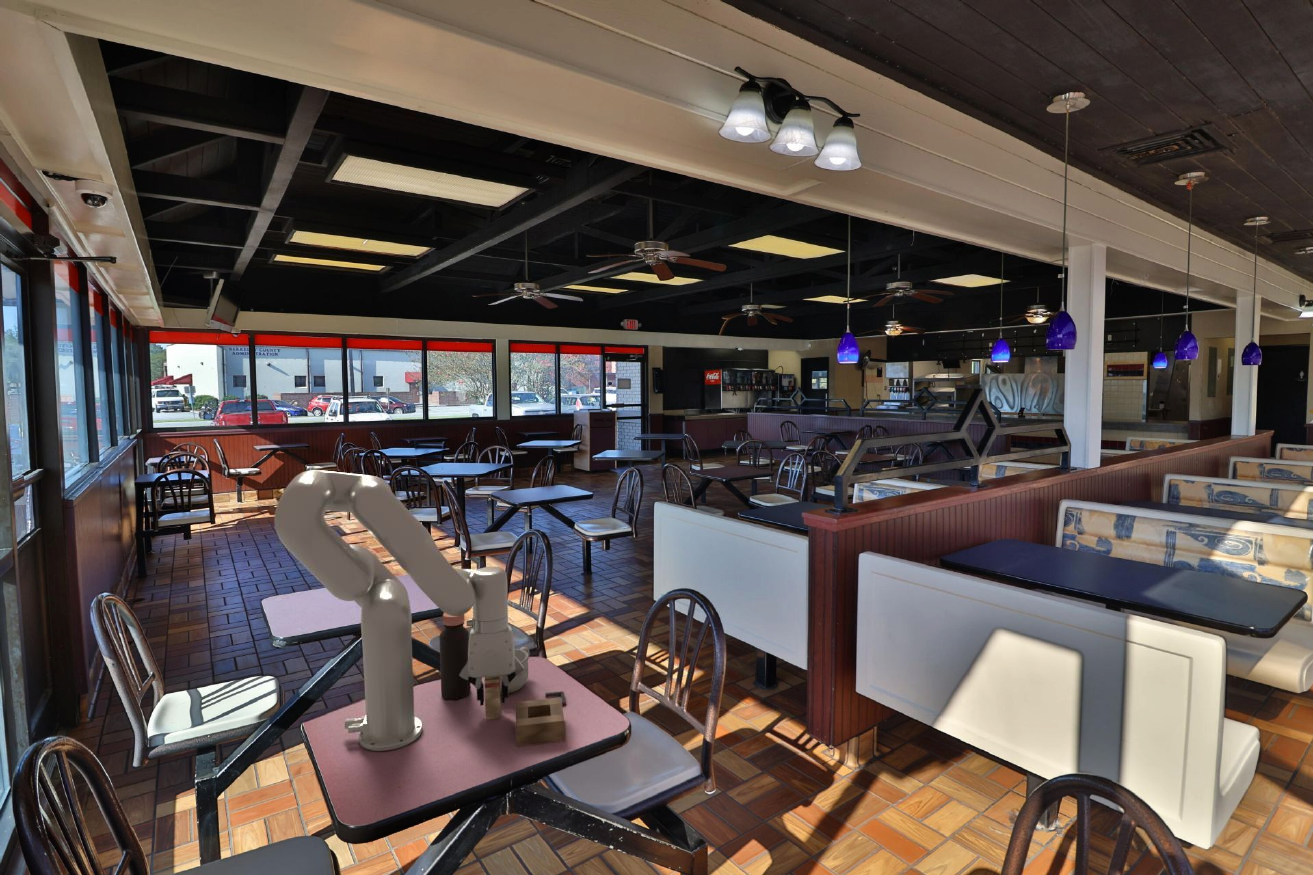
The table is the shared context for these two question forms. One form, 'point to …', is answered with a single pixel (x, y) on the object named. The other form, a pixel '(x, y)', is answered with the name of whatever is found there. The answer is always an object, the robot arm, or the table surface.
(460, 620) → the bottle
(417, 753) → the table surface
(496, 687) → the red striped block
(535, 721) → the wooden square socket block
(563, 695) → the dark gray angular bracket
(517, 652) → the teacup
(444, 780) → the table surface
